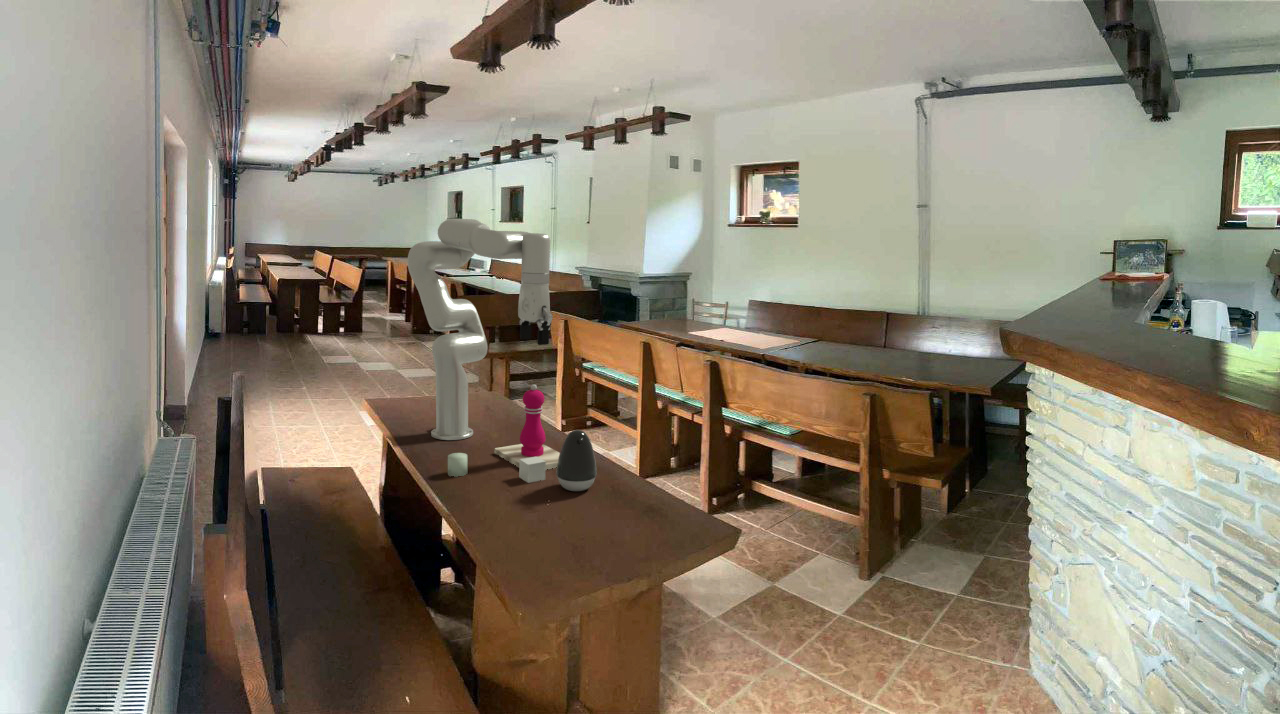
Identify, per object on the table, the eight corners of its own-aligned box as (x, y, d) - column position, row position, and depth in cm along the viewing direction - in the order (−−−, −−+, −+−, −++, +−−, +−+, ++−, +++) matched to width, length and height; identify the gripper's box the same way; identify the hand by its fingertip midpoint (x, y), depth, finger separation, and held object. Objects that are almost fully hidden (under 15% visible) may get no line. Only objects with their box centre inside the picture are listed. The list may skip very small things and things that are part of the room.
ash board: (494, 453, 213) (494, 448, 212) (537, 446, 221) (537, 441, 221) (528, 473, 197) (528, 467, 197) (572, 464, 205) (573, 459, 205)
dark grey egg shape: (559, 496, 181) (560, 436, 179) (553, 482, 191) (554, 425, 188) (600, 494, 184) (602, 435, 181) (591, 480, 194) (593, 424, 191)
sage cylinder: (444, 472, 195) (444, 454, 194) (462, 469, 198) (462, 451, 197) (452, 478, 191) (452, 459, 190) (470, 475, 194) (470, 456, 193)
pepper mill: (540, 458, 205) (541, 388, 201) (515, 455, 206) (516, 385, 203) (548, 451, 212) (550, 383, 208) (525, 448, 213) (526, 380, 210)
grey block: (519, 477, 194) (519, 459, 193) (536, 474, 197) (536, 456, 196) (528, 483, 190) (528, 464, 189) (545, 479, 193) (545, 461, 192)
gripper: (508, 276, 205) (507, 337, 208) (539, 282, 191) (537, 347, 194) (532, 276, 209) (530, 336, 212) (563, 282, 196) (562, 345, 199)
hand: (534, 341), depth 203 cm, fingers open, 9 cm apart
